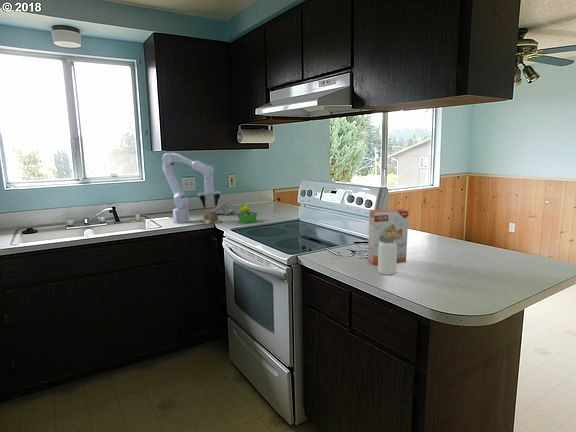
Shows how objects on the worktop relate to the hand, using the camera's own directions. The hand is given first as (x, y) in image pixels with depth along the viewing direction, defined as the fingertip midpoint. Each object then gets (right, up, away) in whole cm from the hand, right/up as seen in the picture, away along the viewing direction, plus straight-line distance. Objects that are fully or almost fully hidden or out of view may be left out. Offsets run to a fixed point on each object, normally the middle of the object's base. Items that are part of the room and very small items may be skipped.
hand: (210, 206), depth 240 cm
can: (+85, -27, -101) cm, 135 cm away
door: (0, -8, +2) cm, 9 cm away
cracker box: (+89, -24, -88) cm, 128 cm away
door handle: (+2, -5, +31) cm, 32 cm away
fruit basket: (+24, -10, -1) cm, 26 cm away
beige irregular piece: (0, -9, +2) cm, 10 cm away
